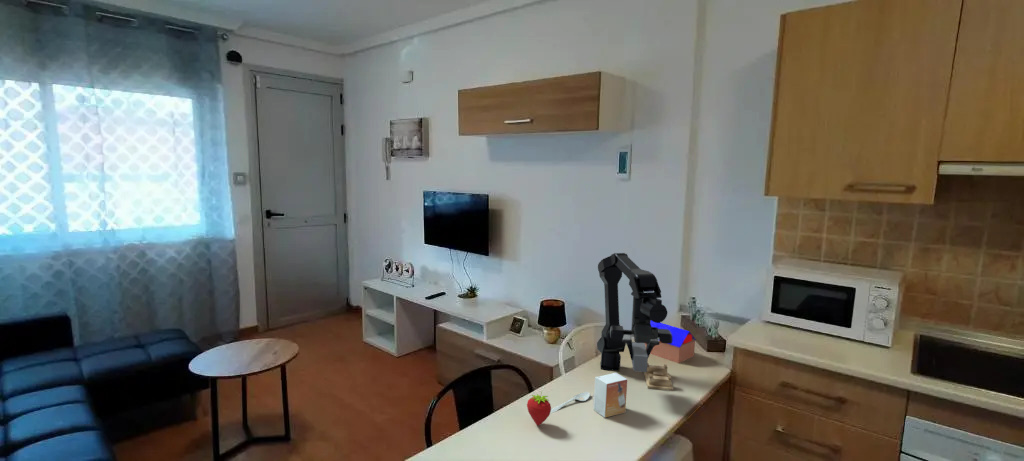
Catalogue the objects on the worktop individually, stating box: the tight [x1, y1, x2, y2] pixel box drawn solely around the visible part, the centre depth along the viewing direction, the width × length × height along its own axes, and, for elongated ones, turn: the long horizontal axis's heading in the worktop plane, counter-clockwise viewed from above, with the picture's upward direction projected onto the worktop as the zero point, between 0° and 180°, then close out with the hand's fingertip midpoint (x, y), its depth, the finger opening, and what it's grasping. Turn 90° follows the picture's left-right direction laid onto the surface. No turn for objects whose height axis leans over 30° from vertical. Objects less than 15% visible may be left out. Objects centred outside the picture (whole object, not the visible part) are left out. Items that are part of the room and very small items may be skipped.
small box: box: [593, 372, 628, 418], centre depth 143 cm, size 8×6×10 cm
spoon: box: [550, 391, 591, 414], centre depth 147 cm, size 4×21×2 cm, turn 129°
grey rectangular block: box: [631, 341, 649, 373], centre depth 153 cm, size 4×12×5 cm, turn 170°
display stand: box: [643, 363, 674, 392], centre depth 165 cm, size 8×14×4 cm, turn 170°
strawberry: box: [526, 391, 552, 426], centre depth 135 cm, size 6×8×10 cm
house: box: [645, 320, 697, 364], centre depth 191 cm, size 12×20×12 cm, turn 40°
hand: (638, 360), depth 154 cm, fingers closed on grey rectangular block, 4 cm apart
